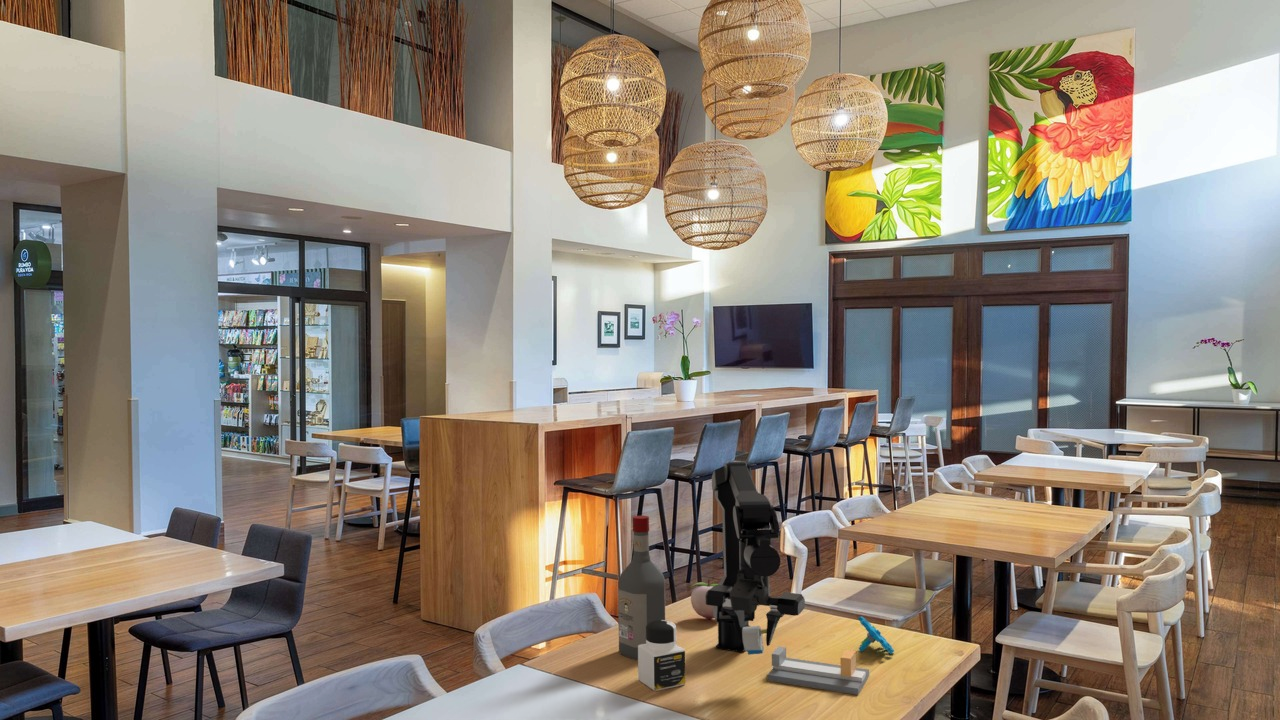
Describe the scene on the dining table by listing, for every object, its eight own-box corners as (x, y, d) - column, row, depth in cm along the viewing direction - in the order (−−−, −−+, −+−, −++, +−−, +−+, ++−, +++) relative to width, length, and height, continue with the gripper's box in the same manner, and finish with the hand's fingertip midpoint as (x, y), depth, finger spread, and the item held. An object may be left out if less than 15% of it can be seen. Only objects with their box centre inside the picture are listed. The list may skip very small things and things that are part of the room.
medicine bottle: (654, 692, 163) (653, 630, 163) (637, 679, 169) (636, 620, 170) (686, 685, 166) (685, 624, 167) (668, 673, 173) (667, 615, 173)
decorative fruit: (688, 624, 205) (688, 583, 205) (692, 614, 213) (691, 575, 213) (727, 626, 204) (726, 584, 204) (729, 616, 212) (728, 576, 212)
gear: (898, 653, 178) (862, 617, 181) (877, 672, 179) (843, 636, 181) (894, 644, 189) (861, 610, 191) (876, 662, 189) (843, 627, 192)
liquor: (640, 663, 179) (638, 522, 179) (613, 652, 186) (611, 517, 186) (671, 653, 185) (670, 517, 185) (644, 643, 192) (642, 511, 192)
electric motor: (769, 657, 161) (764, 631, 161) (744, 659, 162) (740, 633, 162) (772, 644, 167) (768, 619, 167) (749, 646, 168) (744, 621, 169)
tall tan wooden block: (840, 675, 165) (840, 657, 165) (846, 667, 169) (845, 649, 169) (850, 677, 164) (850, 658, 164) (856, 668, 168) (855, 650, 169)
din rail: (767, 680, 168) (767, 658, 168) (782, 662, 178) (782, 642, 178) (858, 694, 160) (858, 671, 160) (869, 675, 170) (868, 653, 170)
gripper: (694, 568, 161) (695, 649, 161) (789, 578, 153) (790, 663, 153) (715, 556, 172) (716, 632, 171) (805, 564, 163) (806, 645, 163)
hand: (755, 643), depth 165 cm, fingers closed on electric motor, 5 cm apart
